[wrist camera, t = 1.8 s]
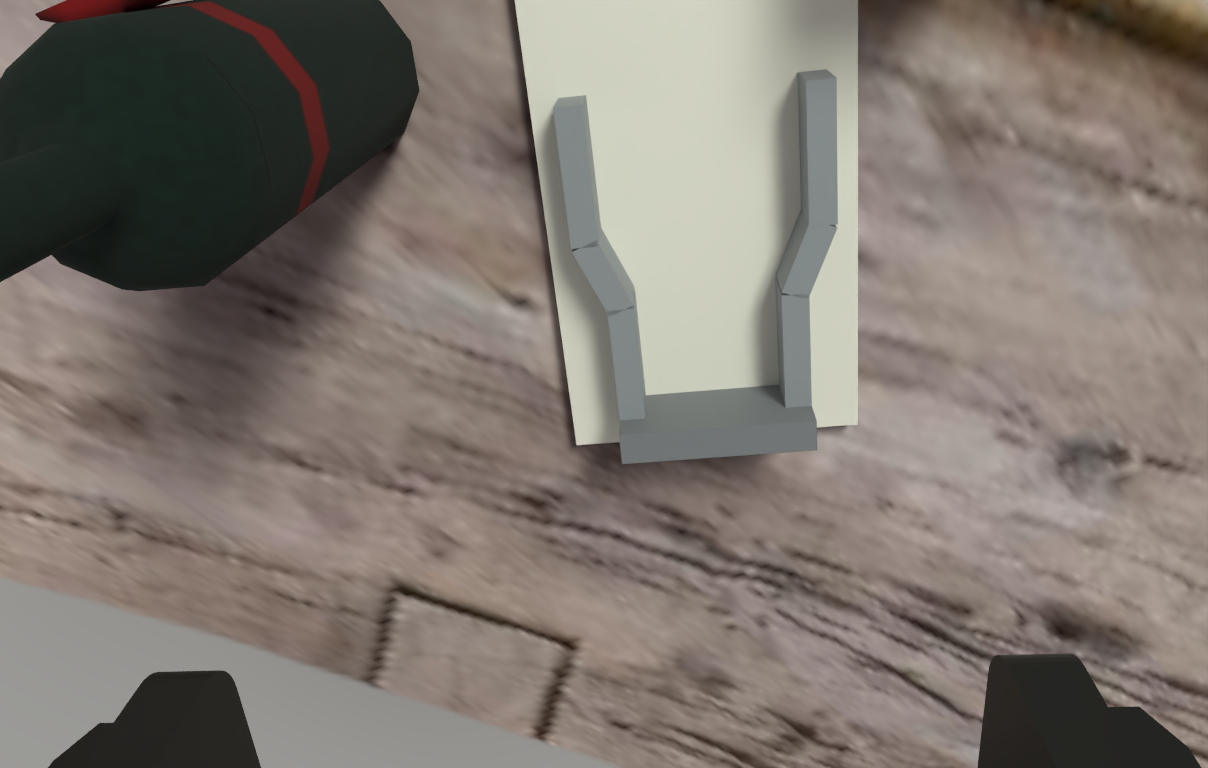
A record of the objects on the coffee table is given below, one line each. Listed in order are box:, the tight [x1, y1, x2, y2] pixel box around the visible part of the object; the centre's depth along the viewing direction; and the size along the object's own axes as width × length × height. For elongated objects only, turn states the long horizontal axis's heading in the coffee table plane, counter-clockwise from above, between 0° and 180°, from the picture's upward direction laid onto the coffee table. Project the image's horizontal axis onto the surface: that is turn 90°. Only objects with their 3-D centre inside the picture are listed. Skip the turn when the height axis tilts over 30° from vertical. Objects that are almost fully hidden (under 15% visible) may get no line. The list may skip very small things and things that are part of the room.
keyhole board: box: [515, 0, 858, 464], centre depth 42 cm, size 22×14×5 cm, turn 6°
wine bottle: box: [0, 0, 419, 291], centre depth 28 cm, size 8×10×30 cm
